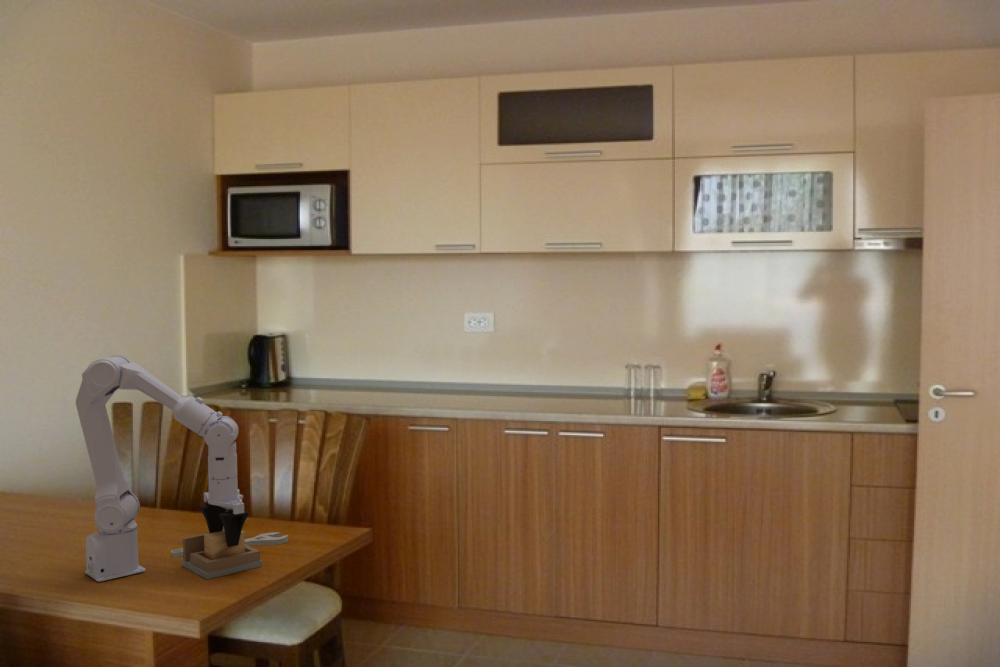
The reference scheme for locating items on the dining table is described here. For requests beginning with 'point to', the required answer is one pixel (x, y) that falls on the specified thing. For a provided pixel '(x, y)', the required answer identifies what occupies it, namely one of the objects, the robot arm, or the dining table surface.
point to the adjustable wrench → (251, 542)
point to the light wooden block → (221, 546)
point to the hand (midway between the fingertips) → (224, 541)
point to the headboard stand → (216, 567)
